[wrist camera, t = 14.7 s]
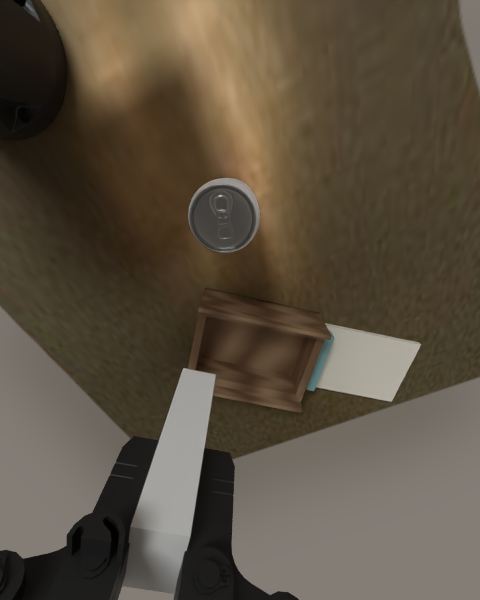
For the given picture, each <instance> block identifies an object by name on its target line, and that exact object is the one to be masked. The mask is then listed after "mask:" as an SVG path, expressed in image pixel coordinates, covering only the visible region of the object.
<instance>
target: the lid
mask: <svg viewBox="0 0 480 600" xmlns="http://www.w3.org/2000/svg"><path fill="white" fill-rule="evenodd" d="M325 324H326V326H327V328H328V330H329V332H330V334H331V336H332V337H331V340H328V339H325V341H324V344H323V346H322V349H321V351H320V354H319V356H318V359H317V361H316V364H315V367H314V369H313V372H312V374H311V377H310V379H309V382H308V385H307V387H306V390H310V391H314V390H315V388H316V387H317V388H322V389H327V390H333V391H338V392H343V393H348V394H353V395H359V396H364V397H369V398H374V399H379V400H385V401H390V402H392V400H393V398H394V396H395V394H396V392H397V390H398V388H399V386H400V384H401V383H402V381H403V379H404V377H405V375H406V373H407V371H408V369H409V367H410V365H411V363H412V361H413V359H414V357H415V356H416V354H417V352H418V350H419V348H420V346H421V344H420V343H419V342H414V341H409V340H404V339H399V338H394V337H390V336H385V335H380V334H375V333H370V332H365V331H361V330H356V329H351V328H346V327H341V326H336V325H332V324H327V323H325Z"/></svg>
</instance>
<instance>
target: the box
mask: <svg viewBox="0 0 480 600" xmlns="http://www.w3.org/2000/svg"><path fill="white" fill-rule="evenodd" d="M198 312H199V313H198V318H197V323H196V328H195V334H194V339H193V344H192V349H191V354H190V360H189V365H188V369H190V370H195V371H200V372H205V373H210V374H215V375H216V377H215V383H214V389H213V396H216V397H222V398H227V399H232V400H237V401H242V402H247V403H252V404H257V405H262V406H268V407H273V408H278V409H283V410H288V411H293V412H298V413H302V406H301V400H302V397H303V395H304V392H305V390H306V387H307V385H308V382H309V379H310V377H311V374H312V372H313V369H314V367H315V364H316V361H317V359H318V356H319V354H320V351H321V349H322V346H323V344H324V341H325V339H328V340H331V337H332V336H331V334H330V332H329V330H328V328H327V326H326V324H325V323H324V321H323V319H322V317H321V315H320V313H317V312H312V311H308V310H303V309H298V308H294V307H289V306H285V305H280V304H276V303H271V302H267V301H262V300H258V299H253V298H248V297H244V296H239V295H235V294H230V293H226V292H221V291H217V290H212V289H207V288H206V289H205V292H204V294H203V297H202V300H201V302H200V305H199V308H198Z"/></svg>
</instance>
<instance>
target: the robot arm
mask: <svg viewBox="0 0 480 600" xmlns="http://www.w3.org/2000/svg"><path fill="white" fill-rule="evenodd" d="M65 89H66V62H65V56H64V51H63V47H62V43H61V40H60V37H59V34H58V32H57V29H56V27H55V25H54V23H53V21H52V19H51V17H50V15H49V13H48V11H47V10H46V8H45V7H44V5H43V4H42V2H41V1H40V0H0V138H2V139H10V140H16V139H24V138H28V137H31V136H34V135H36V134H38V133H40V132H41V131H43V130H44V129H45V128H46V127H47V126H49V124H50V123H51V122H52V121H53V120H54V118H55V117H56V115H57V114H58V112H59V110H60V107H61V105H62V102H63V99H64V95H65ZM215 377H216V375H215V374H210V373H205V372H200V371H195V370H190V369H185V368H183V370H182V373H181V376H180V379H179V382H178V385H177V388H176V391H175V394H174V397H173V400H172V403H171V406H170V409H169V412H168V415H167V418H166V421H165V424H164V427H163V430H162V433H161V436H160V439H159V441H158V440H153V439H147V438H142V437H137V436H134V437H132V438H131V439H130V440H129V441H128V442H127V443H126V444H125V445H124V446H123V447H122V450H121V452H120V454H119V456H118V458H117V461H116V463H115V465H114V467H113V469H112V471H111V474H110V476H109V478H108V480H107V482H106V484H105V487H104V489H103V491H102V493H101V495H100V497H99V500H98V502H97V504H96V506H95V508H94V510H93V513H91V514H88V515H86V516H84V517H83V518H82V519H81V520H79V521H78V522H77V523H76V524H75V525H74V526H73V527H72V529H71V530H70V532H69V533H68V534H67V546H65V547H64V548H62V549H60V550H58V551H55V552H52V553H48V554H43V555H39V556H34V557H30V558H25V559H22V558H21V557H20V556H19V555H18V554H17V553H16V552H12V551H8V550H3V551H0V600H118V597H119V594H120V591H121V587H122V586H126V587H133V588H139V589H146V590H153V591H159V592H166V593H173V594H175V595H174V600H299V599H298V598H296V597H295V596H293V595H291V594H290V593H288V592H276V593H274V594H272V595H269V594H267V593H266V592H264V591H262V590H261V589H259V588H257V587H256V586H254V585H253V584H251V583H250V582H248V581H247V580H246V579H245V578H244V577H243V576H242V575H241V573H240V572H239V571H238V569H237V567H236V565H235V563H234V559H233V556H232V547H231V539H232V517H233V494H234V493H233V492H234V470H235V466H234V463H233V461H232V458H231V455H230V453H228V452H223V451H218V450H212V449H207V448H204V447H205V440H206V434H207V428H208V421H209V415H210V409H211V402H212V396H213V389H214V383H215ZM122 584H123V585H122Z"/></svg>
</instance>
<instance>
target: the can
mask: <svg viewBox="0 0 480 600" xmlns="http://www.w3.org/2000/svg"><path fill="white" fill-rule="evenodd" d="M188 220H189V225H190V228H191V231H192V233H193V235H194V236H195V238H196V239H197V240H198V241H199V242H200V243H201V244H202V245H203V246H204V247H206V248H208V249H210V250H212V251H215V252H219V253H230V252H235V251H238V250H240V249H242V248H243V247H245V246H246V245H247V244H249V243H250V242H251V240H252V239H253V238H254V236H255V234H256V233H257V230H258V227H259V223H260V209H259V205H258V202H257V199H256V197H255V195H254V193H253V191H252V190H251V188H250V187H249V186H248V185H247V184H245V183H244V182H242V181H240V180H238V179H235V178H219V179H215V180H212V181H209V182H207V183H205V184H204V185H203V186H201V187H200V188H199V189H198V190H197V191H196V193H195V194H194V196H193V197H192V199H191V202H190V205H189V210H188Z"/></svg>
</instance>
